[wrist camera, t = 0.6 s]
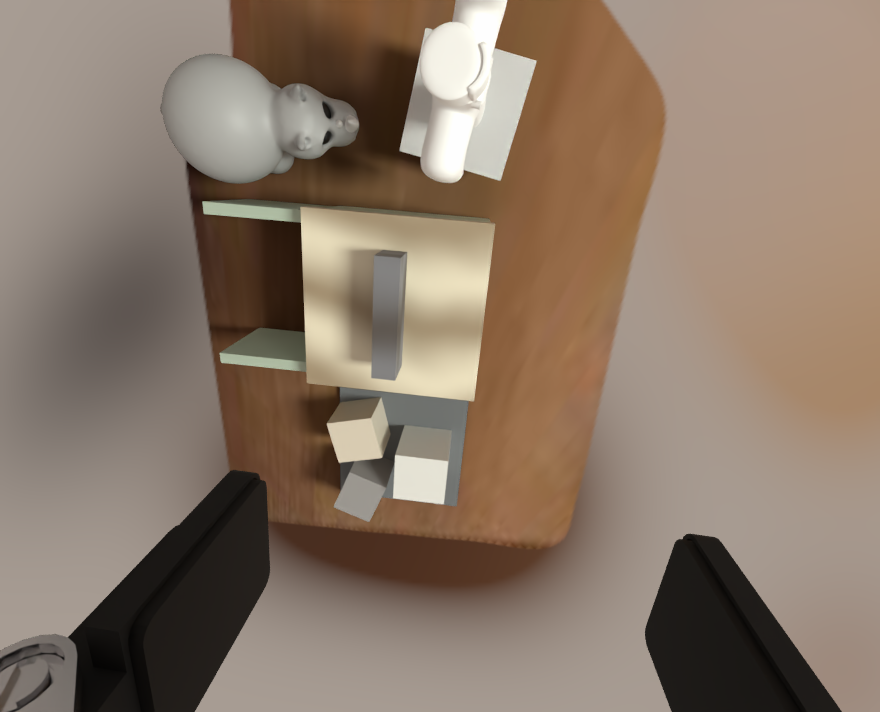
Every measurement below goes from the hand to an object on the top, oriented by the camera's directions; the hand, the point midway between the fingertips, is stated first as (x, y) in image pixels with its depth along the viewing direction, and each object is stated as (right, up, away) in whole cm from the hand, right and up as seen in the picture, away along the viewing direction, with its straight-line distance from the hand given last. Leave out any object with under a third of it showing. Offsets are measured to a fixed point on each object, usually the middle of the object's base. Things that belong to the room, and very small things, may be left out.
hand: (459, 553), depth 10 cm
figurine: (+2, +22, +22) cm, 31 cm away
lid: (-4, +8, +21) cm, 23 cm away
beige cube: (-7, -1, +32) cm, 32 cm away
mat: (-4, -4, +33) cm, 33 cm away
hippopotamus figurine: (-12, +22, +24) cm, 34 cm away
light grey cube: (-7, -7, +34) cm, 35 cm away
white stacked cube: (-2, -4, +32) cm, 33 cm away
